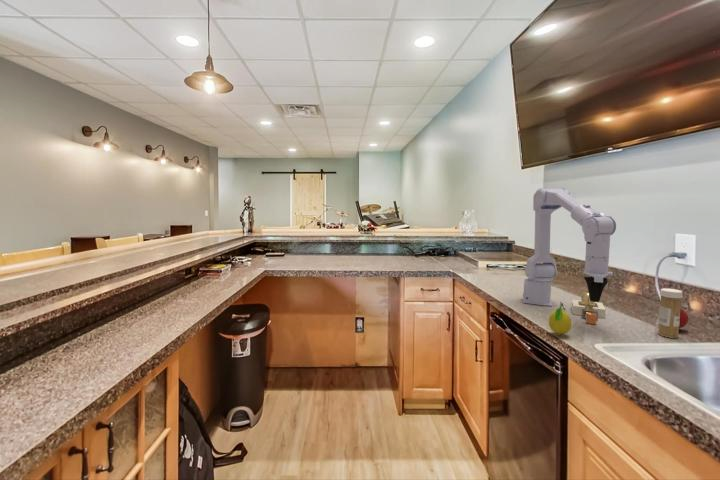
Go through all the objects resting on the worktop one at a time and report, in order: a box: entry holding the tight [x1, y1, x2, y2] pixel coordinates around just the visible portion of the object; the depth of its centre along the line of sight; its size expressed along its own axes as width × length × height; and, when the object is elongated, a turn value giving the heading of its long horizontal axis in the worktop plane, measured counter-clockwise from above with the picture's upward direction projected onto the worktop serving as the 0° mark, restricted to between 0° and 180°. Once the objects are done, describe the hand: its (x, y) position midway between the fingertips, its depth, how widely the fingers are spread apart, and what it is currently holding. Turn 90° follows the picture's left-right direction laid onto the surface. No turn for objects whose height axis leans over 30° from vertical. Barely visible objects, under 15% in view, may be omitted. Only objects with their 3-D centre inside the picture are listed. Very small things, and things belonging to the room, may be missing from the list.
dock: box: [571, 299, 606, 319], centre depth 116 cm, size 9×9×3 cm
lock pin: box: [585, 312, 598, 325], centre depth 108 cm, size 3×7×3 cm, turn 150°
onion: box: [679, 307, 690, 329], centre depth 99 cm, size 6×6×8 cm
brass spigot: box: [580, 291, 595, 310], centre depth 116 cm, size 4×4×7 cm
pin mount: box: [581, 309, 599, 321], centre depth 110 cm, size 4×2×3 cm, turn 60°
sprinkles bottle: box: [657, 287, 683, 339], centre depth 94 cm, size 5×5×13 cm
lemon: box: [548, 301, 572, 336], centre depth 96 cm, size 7×6×10 cm
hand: (594, 301), depth 100 cm, fingers closed
